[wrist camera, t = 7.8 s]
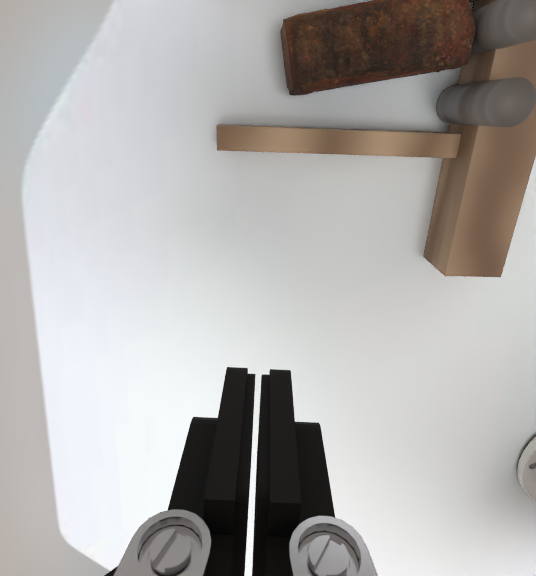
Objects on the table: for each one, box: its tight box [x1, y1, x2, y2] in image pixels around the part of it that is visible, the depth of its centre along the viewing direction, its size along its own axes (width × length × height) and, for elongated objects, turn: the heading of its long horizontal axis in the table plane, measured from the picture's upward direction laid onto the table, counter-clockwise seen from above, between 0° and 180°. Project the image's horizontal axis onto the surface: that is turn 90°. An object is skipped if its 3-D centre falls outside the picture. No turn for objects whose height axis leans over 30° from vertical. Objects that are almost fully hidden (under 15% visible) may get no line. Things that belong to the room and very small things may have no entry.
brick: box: [281, 0, 476, 95], centre depth 24 cm, size 11×4×5 cm, turn 99°
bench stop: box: [217, 0, 536, 277], centre depth 23 cm, size 20×26×7 cm
